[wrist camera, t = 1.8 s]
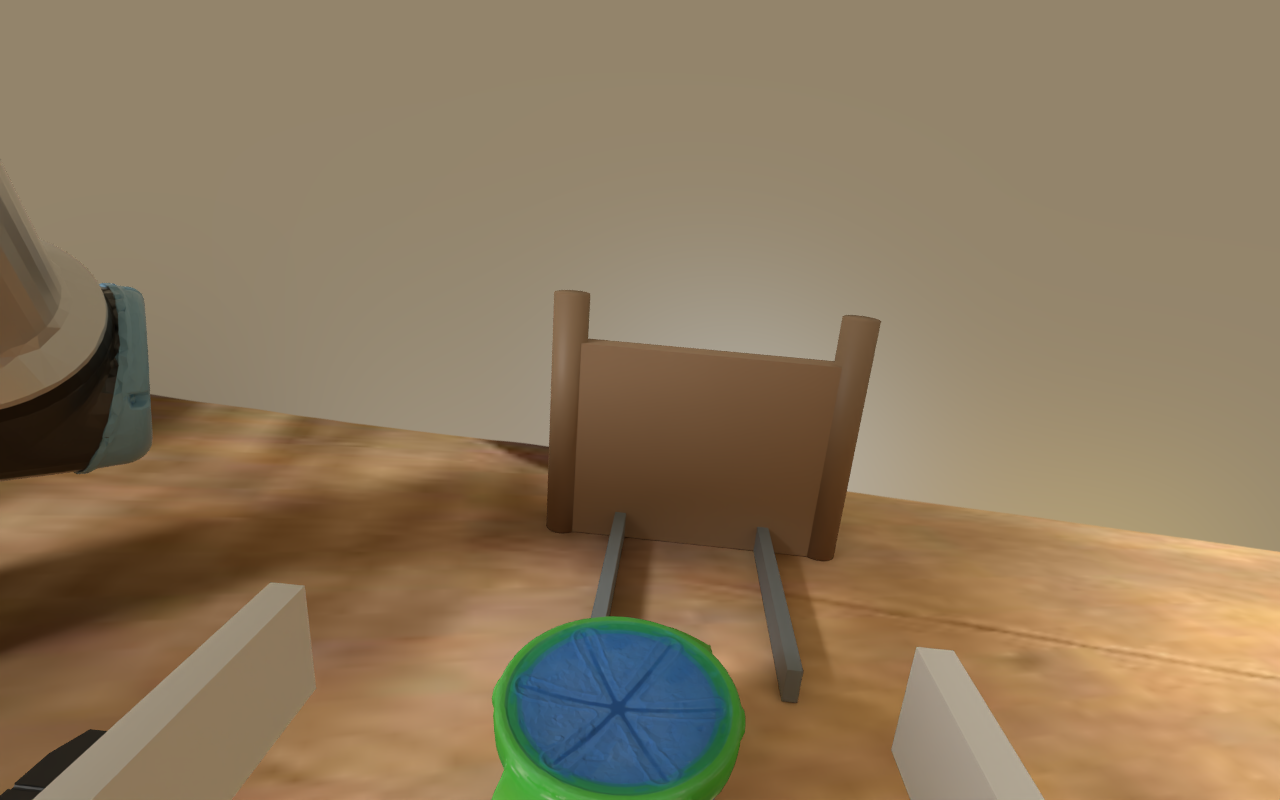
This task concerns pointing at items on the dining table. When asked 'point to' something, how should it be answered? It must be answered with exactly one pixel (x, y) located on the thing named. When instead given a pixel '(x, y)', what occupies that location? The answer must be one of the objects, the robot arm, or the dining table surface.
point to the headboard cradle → (704, 451)
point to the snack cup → (615, 715)
